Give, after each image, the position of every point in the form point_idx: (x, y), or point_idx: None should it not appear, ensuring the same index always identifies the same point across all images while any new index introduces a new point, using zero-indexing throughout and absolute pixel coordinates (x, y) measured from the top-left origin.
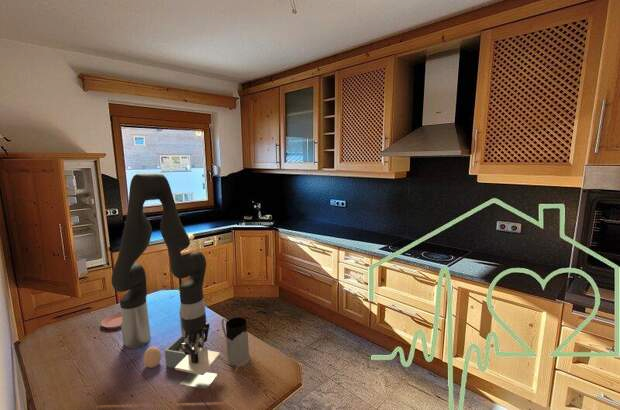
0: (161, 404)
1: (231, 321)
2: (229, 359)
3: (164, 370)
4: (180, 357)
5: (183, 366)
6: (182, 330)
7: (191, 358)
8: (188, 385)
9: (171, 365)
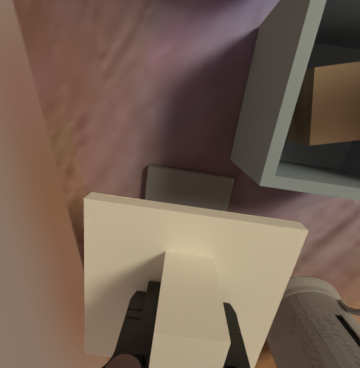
0: (50, 142)
1: None
2: (277, 312)
3: (238, 27)
4: (260, 126)
5: (105, 247)
6: None
7: (123, 322)
8: None
9: (256, 58)
